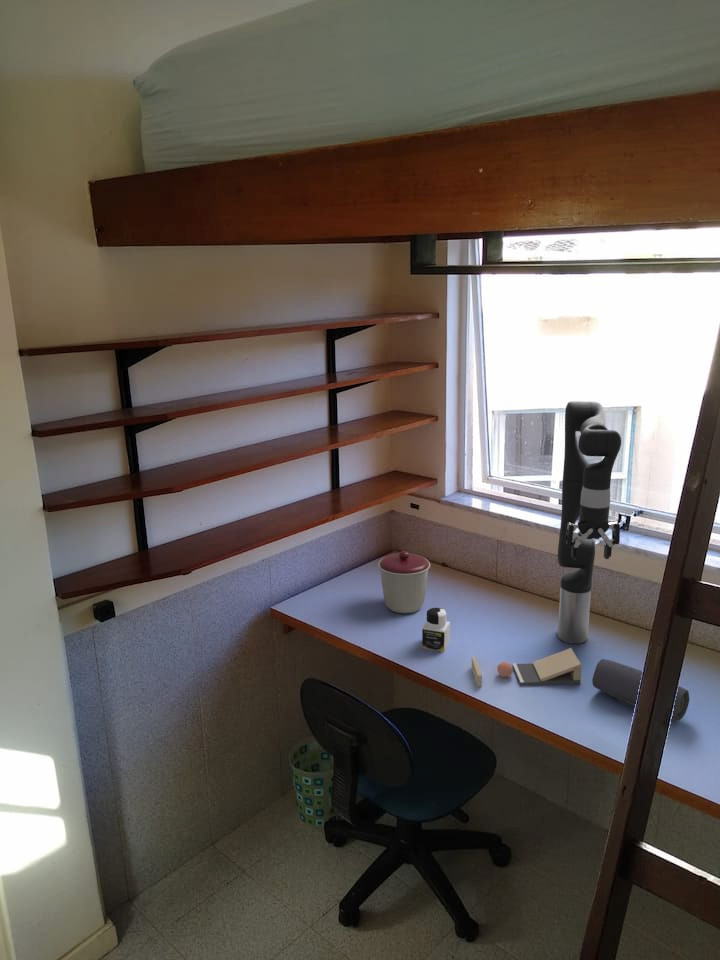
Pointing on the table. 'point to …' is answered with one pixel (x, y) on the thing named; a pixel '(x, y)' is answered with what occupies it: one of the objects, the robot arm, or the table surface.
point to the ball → (505, 669)
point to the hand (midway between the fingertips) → (590, 558)
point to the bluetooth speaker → (630, 685)
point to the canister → (404, 581)
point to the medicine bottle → (436, 630)
